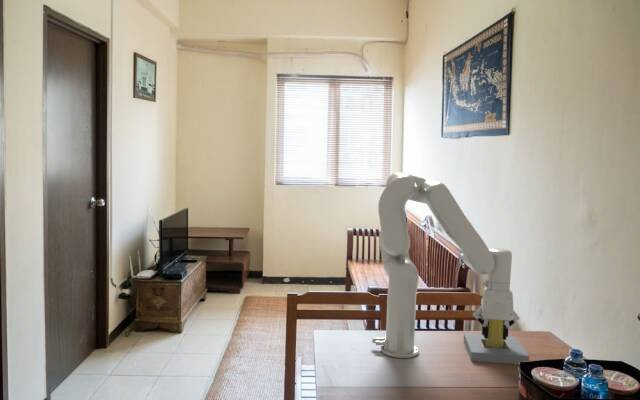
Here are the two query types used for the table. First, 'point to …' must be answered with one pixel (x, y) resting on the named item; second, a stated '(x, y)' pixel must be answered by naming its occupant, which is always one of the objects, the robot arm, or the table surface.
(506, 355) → the socket plate
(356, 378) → the table surface
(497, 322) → the vase
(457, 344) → the table surface
